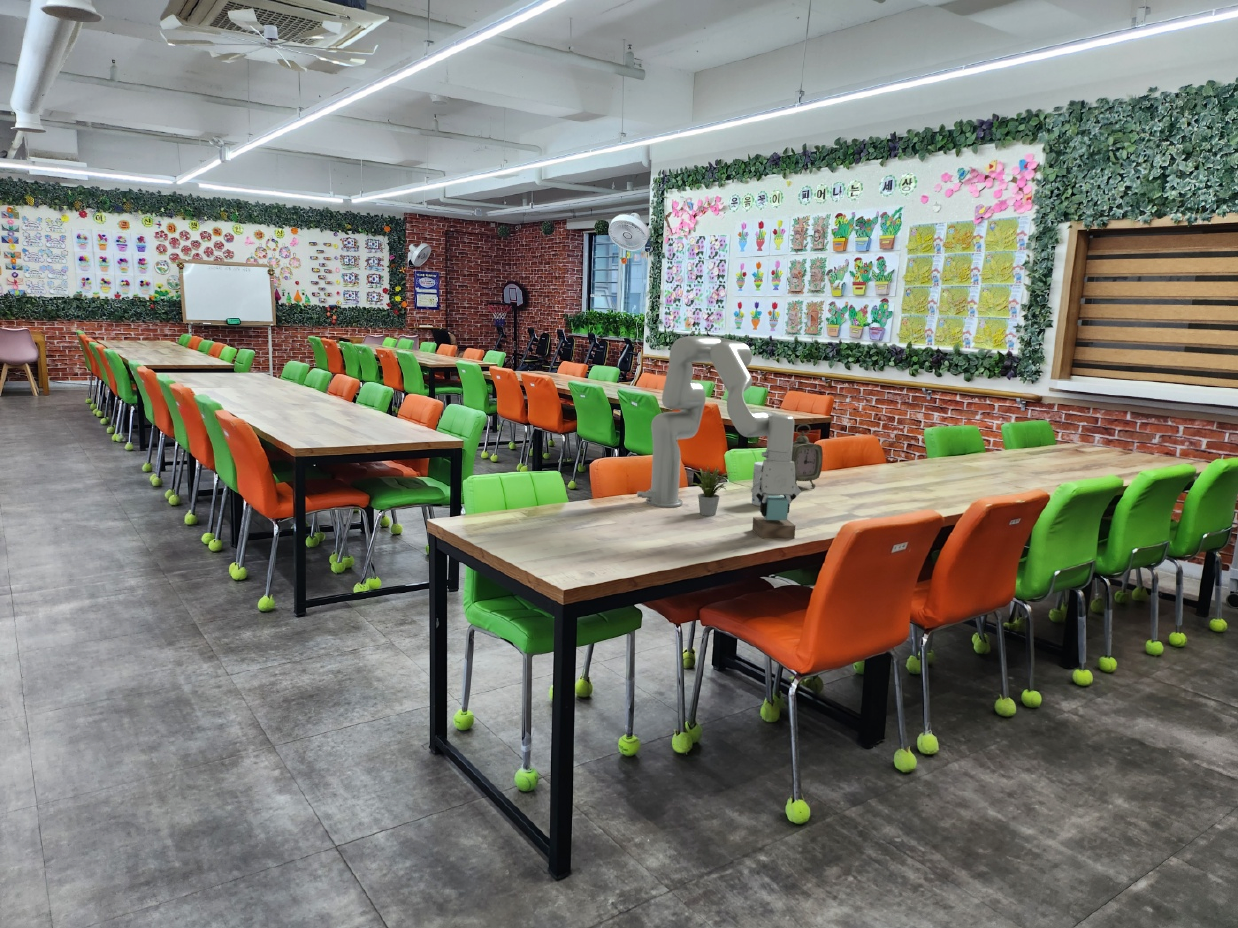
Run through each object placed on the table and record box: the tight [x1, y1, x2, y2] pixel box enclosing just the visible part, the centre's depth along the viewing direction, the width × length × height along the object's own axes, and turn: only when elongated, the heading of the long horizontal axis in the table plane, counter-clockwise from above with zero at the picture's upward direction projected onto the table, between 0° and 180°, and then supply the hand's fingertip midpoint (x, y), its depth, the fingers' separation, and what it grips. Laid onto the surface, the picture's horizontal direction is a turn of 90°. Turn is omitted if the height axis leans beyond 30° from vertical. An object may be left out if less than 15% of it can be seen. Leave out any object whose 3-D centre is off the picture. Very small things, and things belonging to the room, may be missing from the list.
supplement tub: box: [751, 461, 781, 507], centre depth 295 cm, size 10×10×15 cm
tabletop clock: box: [791, 423, 824, 489], centre depth 328 cm, size 14×9×25 cm, turn 119°
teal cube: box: [761, 495, 789, 520], centre depth 255 cm, size 6×6×6 cm
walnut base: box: [751, 516, 796, 539], centre depth 256 cm, size 10×10×4 cm
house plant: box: [690, 464, 733, 517], centre depth 276 cm, size 14×14×16 cm
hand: (774, 514), depth 255 cm, fingers closed on teal cube, 5 cm apart
